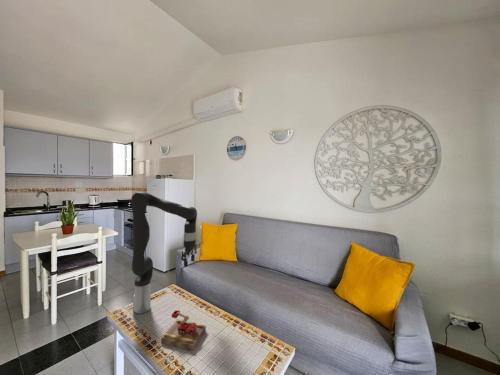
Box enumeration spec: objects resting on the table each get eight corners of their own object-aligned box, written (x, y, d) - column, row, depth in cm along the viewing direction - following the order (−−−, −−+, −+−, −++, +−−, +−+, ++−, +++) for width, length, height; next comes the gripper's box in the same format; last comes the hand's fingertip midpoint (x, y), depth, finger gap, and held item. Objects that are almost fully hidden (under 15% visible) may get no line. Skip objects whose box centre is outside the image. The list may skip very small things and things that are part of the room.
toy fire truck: (194, 335, 107) (195, 317, 107) (171, 330, 110) (171, 313, 110) (197, 330, 111) (198, 313, 110) (174, 326, 113) (174, 309, 113)
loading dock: (161, 343, 105) (161, 335, 105) (177, 324, 119) (177, 317, 119) (192, 351, 101) (192, 343, 101) (205, 331, 115) (205, 324, 115)
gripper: (190, 235, 139) (189, 259, 140) (178, 241, 125) (177, 267, 126) (200, 236, 137) (199, 260, 138) (189, 242, 124) (188, 269, 124)
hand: (189, 263), depth 132 cm, fingers open, 8 cm apart
